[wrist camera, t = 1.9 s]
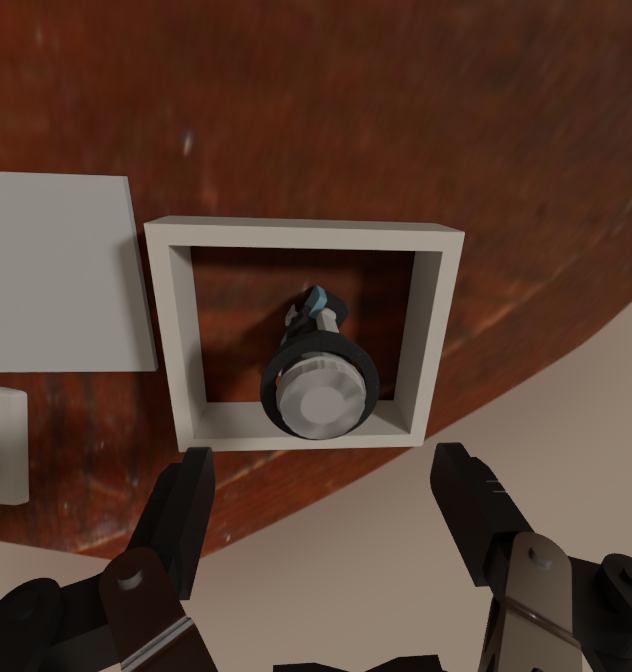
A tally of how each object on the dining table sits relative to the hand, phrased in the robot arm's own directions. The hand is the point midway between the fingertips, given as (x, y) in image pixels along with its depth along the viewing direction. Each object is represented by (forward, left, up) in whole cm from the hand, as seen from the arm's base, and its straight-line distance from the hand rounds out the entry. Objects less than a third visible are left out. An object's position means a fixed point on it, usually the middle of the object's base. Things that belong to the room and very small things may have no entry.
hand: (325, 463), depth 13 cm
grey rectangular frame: (0, 0, -13) cm, 13 cm away
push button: (0, 0, -13) cm, 13 cm away
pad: (-16, +3, -13) cm, 21 cm away
